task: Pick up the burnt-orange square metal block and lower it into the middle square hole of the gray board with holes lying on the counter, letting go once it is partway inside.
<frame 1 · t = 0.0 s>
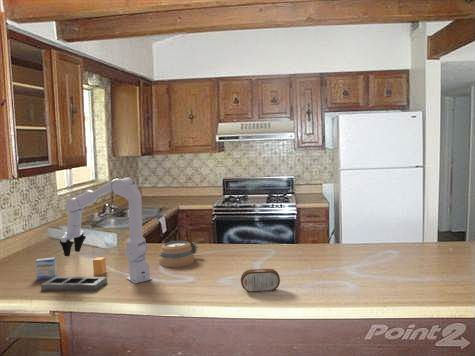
hand: (72, 253, 184), 11 cm above the counter, tool pointing down, fingers open, 7 cm apart
square block: (100, 273, 188), on the counter
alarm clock: (179, 260, 204), on the counter
gray board with holes: (74, 286, 172), on the counter
brown portable speaker: (260, 291, 157), on the counter
medicine box: (47, 277, 186), on the counter
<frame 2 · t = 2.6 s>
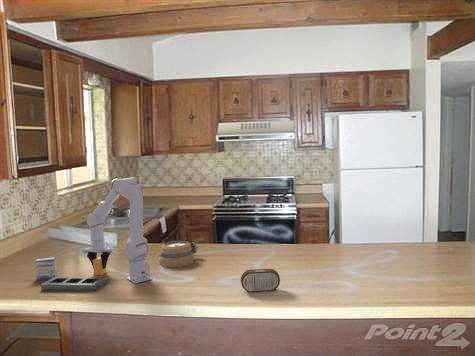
hand: (99, 268, 188), 2 cm above the counter, tool pointing down, fingers closed on square block, 4 cm apart
square block: (100, 273, 188), on the counter, touching gripper
everything else where it was.
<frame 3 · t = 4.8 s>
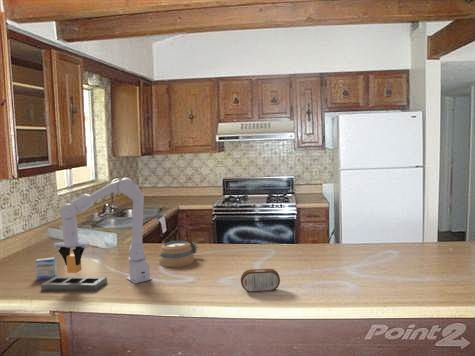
hand: (73, 264, 171), 9 cm above the counter, tool pointing down, fingers closed on square block, 4 cm apart
square block: (74, 271, 172), point 6 cm above the counter, touching gripper
everything else where it was.
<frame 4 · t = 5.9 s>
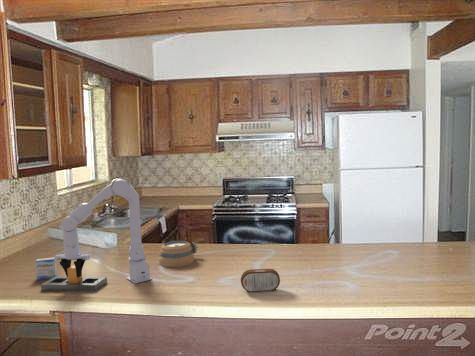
hand: (73, 276, 171), 4 cm above the counter, tool pointing down, fingers closed on square block, 4 cm apart
square block: (75, 283, 172), point 1 cm above the counter, touching gripper
everything else where it was.
when the fingers open (3 cm above the counter, at t = 7.0 s): square block stays where it is, resting in gray board with holes.
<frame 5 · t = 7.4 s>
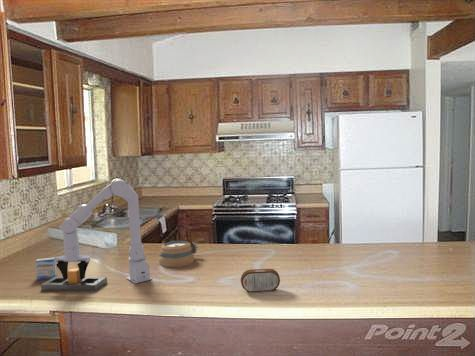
hand: (74, 278, 171), 3 cm above the counter, tool pointing down, fingers open, 7 cm apart
square block: (75, 286, 172), resting in gray board with holes
everything else where it was.
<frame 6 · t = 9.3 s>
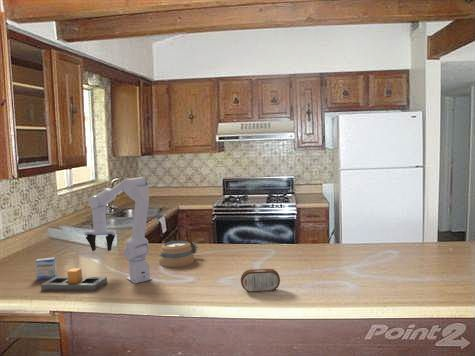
hand: (101, 250, 188), 10 cm above the counter, tool pointing down, fingers open, 7 cm apart
nothing on the counter moved.
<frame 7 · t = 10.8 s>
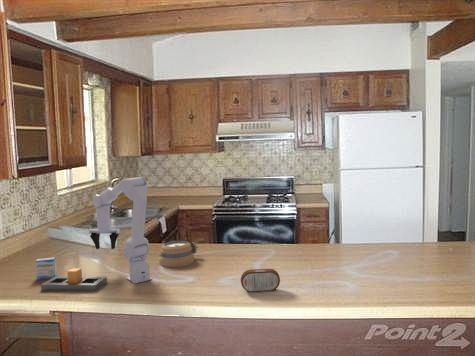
hand: (105, 248, 191), 10 cm above the counter, tool pointing down, fingers open, 7 cm apart
nothing on the counter moved.
at the end: square block 0.6 cm off-centre on the gray board with holes, point 0.0 cm above the gray board with holes's base; square block tilted 0°; the gripper is holding nothing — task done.
